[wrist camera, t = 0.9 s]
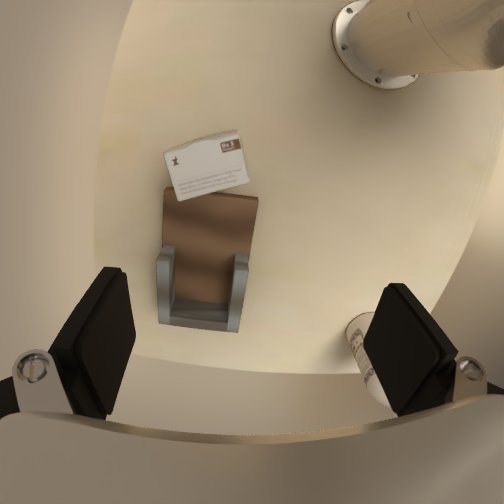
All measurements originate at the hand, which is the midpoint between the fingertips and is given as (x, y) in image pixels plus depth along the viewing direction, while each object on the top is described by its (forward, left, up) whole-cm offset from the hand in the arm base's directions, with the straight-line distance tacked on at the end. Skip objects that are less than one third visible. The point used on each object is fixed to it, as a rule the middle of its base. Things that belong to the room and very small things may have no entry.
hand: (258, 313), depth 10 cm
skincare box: (-2, -3, -26) cm, 26 cm away
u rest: (+12, -3, -26) cm, 28 cm away
